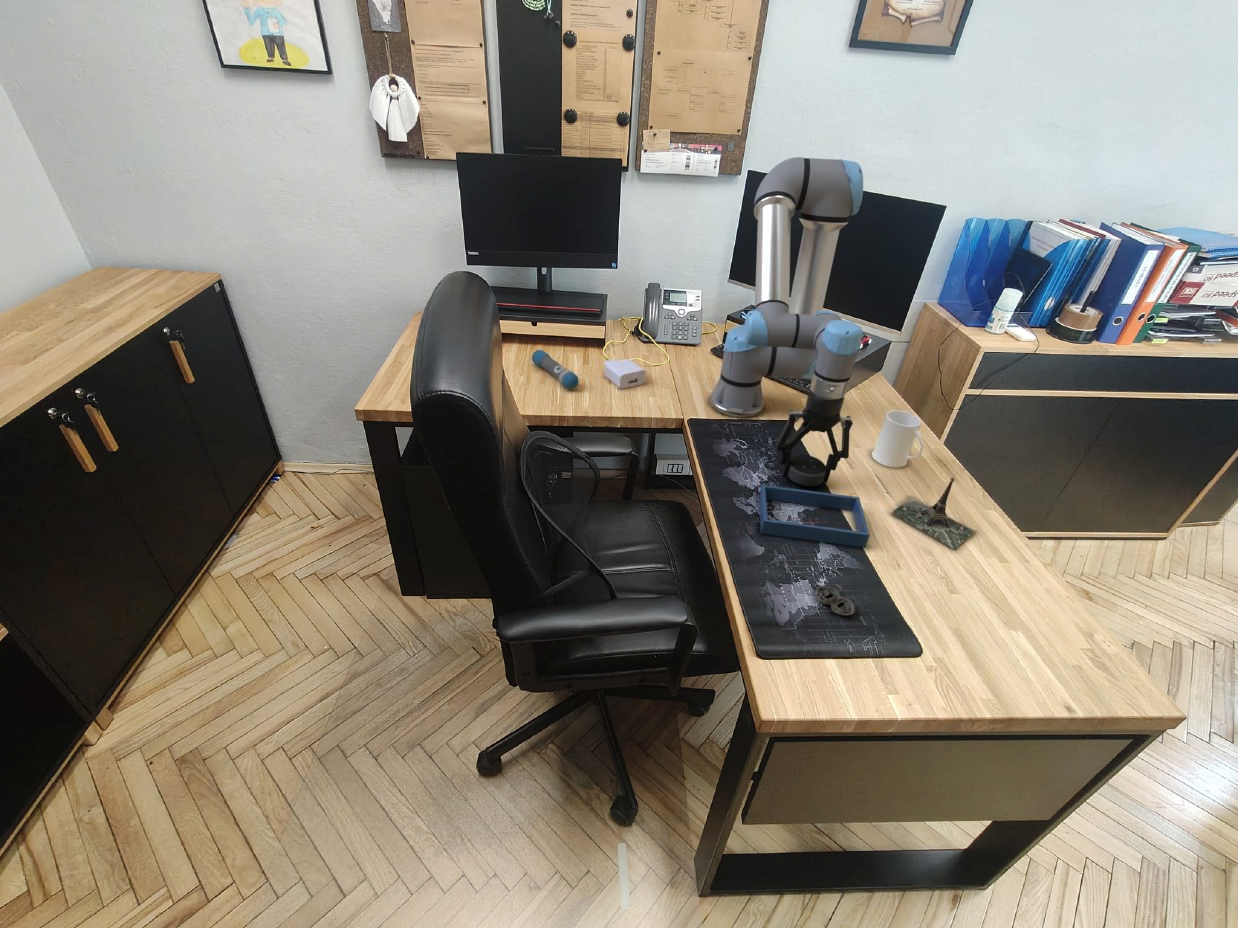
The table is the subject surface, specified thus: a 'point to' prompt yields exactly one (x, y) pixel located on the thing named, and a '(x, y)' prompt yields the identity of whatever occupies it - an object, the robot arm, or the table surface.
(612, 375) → the charger
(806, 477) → the smart speaker
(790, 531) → the rectangular frame
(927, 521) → the eiffel tower figurine
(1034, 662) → the table surface
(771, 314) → the robot arm
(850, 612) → the corroded twin loop
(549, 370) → the grey and blue rod
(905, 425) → the mug
